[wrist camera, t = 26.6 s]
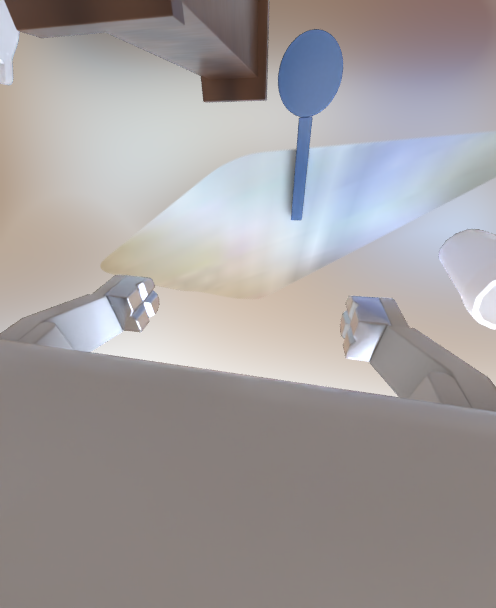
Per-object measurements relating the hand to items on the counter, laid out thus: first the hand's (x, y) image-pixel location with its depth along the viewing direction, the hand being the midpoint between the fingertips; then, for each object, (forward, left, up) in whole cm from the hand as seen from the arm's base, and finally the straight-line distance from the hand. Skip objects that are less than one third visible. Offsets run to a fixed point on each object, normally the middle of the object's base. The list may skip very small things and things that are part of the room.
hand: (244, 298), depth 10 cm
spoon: (+2, +4, -31) cm, 31 cm away
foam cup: (+28, -10, -31) cm, 43 cm away
